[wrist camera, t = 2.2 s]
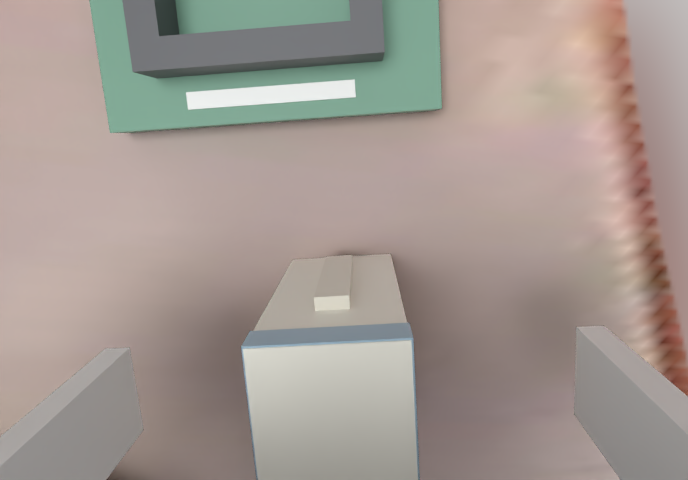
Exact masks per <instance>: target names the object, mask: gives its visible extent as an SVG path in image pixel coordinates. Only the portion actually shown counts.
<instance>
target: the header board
mask: <svg viewBox="0 0 688 480" xmlns="http://www.w3.org/2000/svg"><path fill="white" fill-rule="evenodd" d="M89 1H90V7H91V14H92V20H93V26H94V33H95V39H96V46H97V52H98V59H99V65H100V71H101V78H102V84H103V91H104V97H105V103H106V110H107V116H108V123H109V129H110V133H134V132H147V131H161V130H175V129H189V128H202V127H216V126H230V125H244V124H257V123H271V122H285V121H298V120H312V119H326V118H340V117H353V116H367V115H381V114H395V113H408V112H422V111H436V110H439V109H442V99H441V67H440V35H439V3H438V0H89Z"/></svg>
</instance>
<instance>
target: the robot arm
mask: <svg viewBox="0 0 688 480" xmlns="http://www.w3.org/2000/svg"><path fill="white" fill-rule="evenodd" d="M574 415H575V416H576V418H577V419H578V421H579V422H580V423H581V425H582V426H583V428H584V429H585V430H586V432H587V433H588V435H589V436H590V437H591V439H592V440H593V442H594V443H595V444H596V446H597V447H598V449H599V450H600V451H601V453H602V454H603V456H604V457H605V458H606V460H607V461H608V463H609V464H610V466H611V467H612V468H613V470H614V471H615V473H616V474H617V475H618V477H619V478H620V480H688V396H686V395H685V394H684V393H683V392H682V391H681V390H679V389H678V388H677V387H676V386H675V385H673V384H672V383H671V382H670V381H669V380H668V379H666V378H665V377H664V376H663V375H662V374H660V373H659V372H658V371H657V370H656V369H655V368H653V367H652V366H651V365H650V364H649V363H647V362H646V361H645V360H644V359H643V358H642V357H640V356H639V355H638V354H637V353H636V352H635V351H633V350H632V349H631V348H630V347H629V346H627V345H626V344H625V343H624V342H623V341H622V340H620V339H619V338H618V337H617V336H616V335H614V334H613V333H612V332H611V331H610V330H609V329H607V328H606V327H605V326H583V327H576V358H575V397H574ZM143 430H144V429H143V423H142V417H141V411H140V405H139V399H138V393H137V387H136V381H135V375H134V369H133V363H132V357H131V352H130V348H109V349H104V350H103V351H102V352H101V353H99V354H98V355H97V356H96V357H95V358H93V359H92V360H91V361H90V362H89V363H87V364H86V365H85V366H84V367H83V368H82V369H80V370H79V371H78V372H77V373H76V374H74V375H73V376H72V377H71V378H70V379H68V380H67V381H66V382H65V383H64V384H62V385H61V386H60V387H59V388H58V389H56V390H55V391H54V392H53V393H52V394H50V395H49V396H48V397H47V398H46V399H44V400H43V401H42V402H41V403H40V404H38V405H37V406H36V407H35V408H34V409H32V410H31V411H30V412H29V413H28V414H27V415H25V416H24V417H23V418H22V419H21V420H19V421H18V422H17V423H16V424H15V425H13V426H12V427H11V428H10V429H9V430H7V431H6V432H5V433H4V434H3V435H1V436H0V480H106V479H107V478H108V477H109V475H110V474H111V473H112V471H113V470H114V469H115V467H116V466H117V465H118V463H119V462H120V461H121V459H122V458H123V457H124V455H125V454H126V453H127V451H128V450H129V449H130V447H131V446H132V445H133V443H134V442H135V441H136V439H137V438H138V437H139V435H140V434H141V433H142V431H143Z"/></svg>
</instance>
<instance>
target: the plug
mask: <svg viewBox="0 0 688 480" xmlns="http://www.w3.org/2000/svg"><path fill="white" fill-rule="evenodd" d="M241 351H242V359H243V368H244V377H245V385H246V394H247V402H248V411H249V420H250V428H251V437H252V445H253V454H254V463H255V471H256V480H420V474H419V452H418V430H417V408H416V386H415V364H414V342H413V335H412V331H411V327H410V323H407V320H406V316H405V312H404V307H403V303H402V299H401V295H400V291H399V286H398V282H397V278H396V274H395V270H394V265H393V261H392V257H391V254H378V255H361V256H352V255H341V256H326V258H311V259H294V260H292V262H291V264H290V265H289V267H288V269H287V271H286V273H285V274H284V276H283V278H282V280H281V282H280V283H279V285H278V287H277V289H276V291H275V292H274V294H273V296H272V298H271V300H270V301H269V303H268V305H267V307H266V309H265V310H264V312H263V314H262V316H261V318H260V319H259V321H258V323H257V325H256V327H255V328H254V330H253V331H250V332H249V334H248V335H247V337H246V339H245V341H244V342H243V344H242V346H241Z"/></svg>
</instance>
